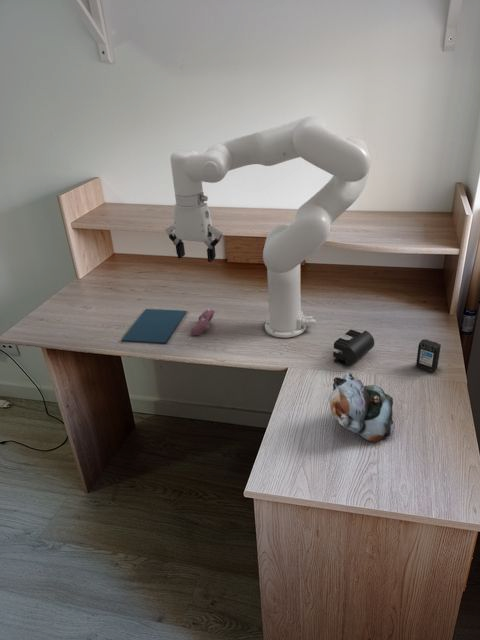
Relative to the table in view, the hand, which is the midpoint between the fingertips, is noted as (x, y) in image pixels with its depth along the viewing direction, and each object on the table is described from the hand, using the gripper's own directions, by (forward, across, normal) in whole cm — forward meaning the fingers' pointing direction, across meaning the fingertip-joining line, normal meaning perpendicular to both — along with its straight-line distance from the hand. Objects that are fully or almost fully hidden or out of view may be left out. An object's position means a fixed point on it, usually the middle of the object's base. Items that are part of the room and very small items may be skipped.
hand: (196, 258), depth 149 cm
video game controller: (+23, 0, +1) cm, 23 cm away
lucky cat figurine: (+22, -56, +32) cm, 68 cm away
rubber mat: (+23, +15, +4) cm, 28 cm away
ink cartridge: (+22, -67, +4) cm, 71 cm away
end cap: (+22, -48, +5) cm, 53 cm away
